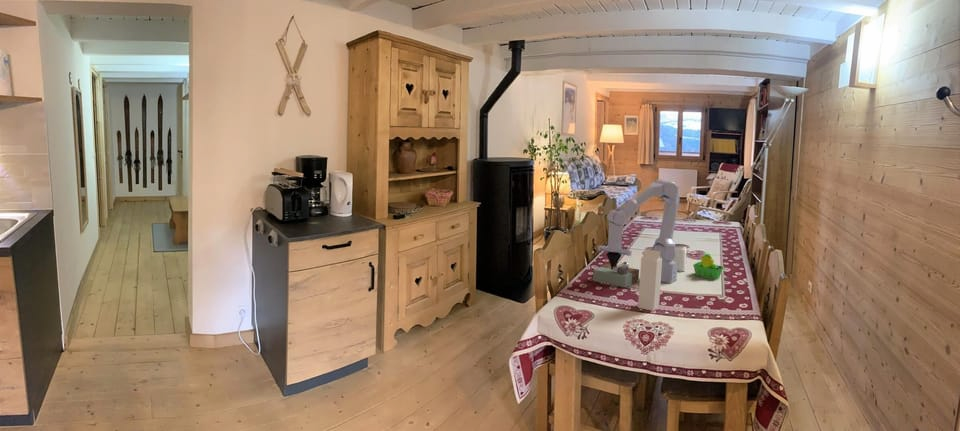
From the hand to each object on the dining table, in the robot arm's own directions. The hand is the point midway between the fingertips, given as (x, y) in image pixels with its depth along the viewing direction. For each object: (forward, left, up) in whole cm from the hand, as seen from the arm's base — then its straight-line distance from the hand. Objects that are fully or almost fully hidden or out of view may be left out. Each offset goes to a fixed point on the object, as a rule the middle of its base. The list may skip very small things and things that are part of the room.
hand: (613, 269), depth 238 cm
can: (-14, -39, -6) cm, 42 cm away
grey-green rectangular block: (0, 0, -6) cm, 6 cm away
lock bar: (-2, -3, 0) cm, 4 cm away
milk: (-24, +20, -6) cm, 32 cm away
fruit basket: (-28, -37, -6) cm, 47 cm away
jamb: (0, -7, -6) cm, 9 cm away
